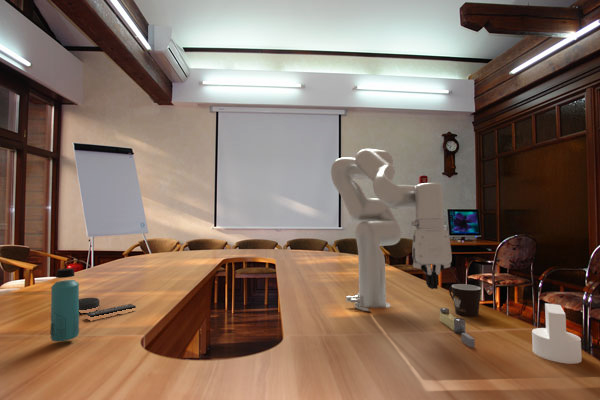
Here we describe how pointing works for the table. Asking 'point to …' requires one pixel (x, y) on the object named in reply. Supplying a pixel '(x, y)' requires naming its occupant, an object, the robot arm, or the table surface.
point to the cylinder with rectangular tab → (556, 338)
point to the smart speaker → (88, 303)
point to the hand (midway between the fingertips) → (432, 287)
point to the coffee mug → (466, 299)
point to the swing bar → (452, 321)
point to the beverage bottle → (64, 307)
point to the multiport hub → (110, 310)
